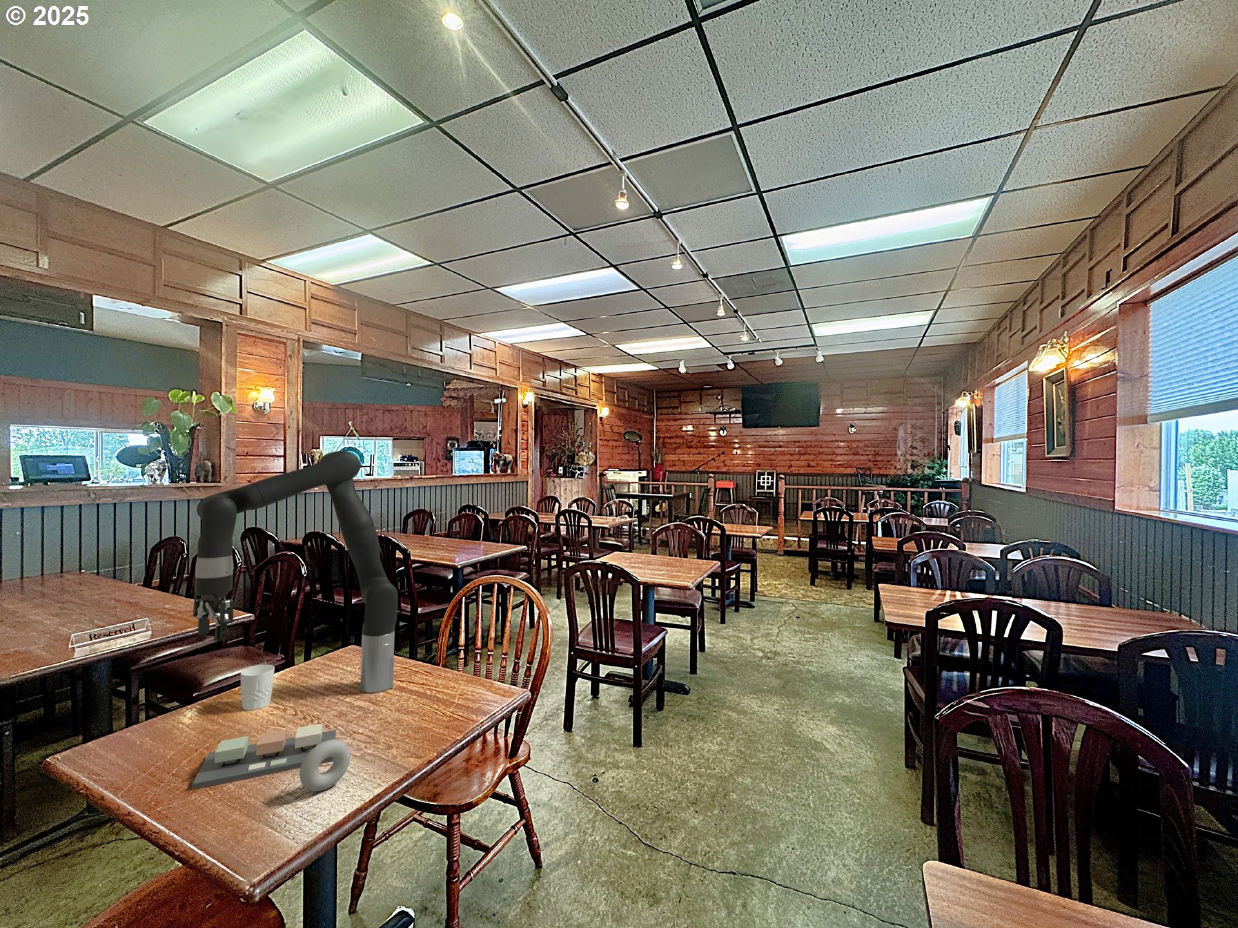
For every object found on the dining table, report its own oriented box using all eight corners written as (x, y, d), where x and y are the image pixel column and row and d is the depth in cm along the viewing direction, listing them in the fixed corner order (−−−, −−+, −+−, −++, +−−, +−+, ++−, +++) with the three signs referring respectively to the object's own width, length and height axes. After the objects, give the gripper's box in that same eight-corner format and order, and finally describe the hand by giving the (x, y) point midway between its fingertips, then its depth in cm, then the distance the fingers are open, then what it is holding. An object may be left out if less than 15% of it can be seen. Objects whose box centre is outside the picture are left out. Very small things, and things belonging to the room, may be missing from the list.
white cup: (260, 712, 140) (261, 676, 141) (232, 710, 141) (233, 674, 141) (279, 699, 148) (280, 665, 148) (253, 698, 148) (254, 664, 149)
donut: (345, 774, 114) (347, 729, 114) (352, 780, 112) (354, 735, 112) (295, 795, 106) (297, 747, 106) (302, 803, 104) (303, 754, 104)
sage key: (248, 752, 119) (248, 735, 119) (243, 763, 114) (244, 747, 114) (220, 757, 116) (221, 740, 116) (214, 769, 112) (215, 752, 112)
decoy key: (286, 745, 122) (286, 729, 122) (282, 756, 117) (283, 740, 118) (260, 749, 120) (260, 733, 120) (255, 761, 115) (256, 744, 115)
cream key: (321, 738, 125) (322, 723, 126) (320, 749, 121) (320, 733, 121) (297, 743, 123) (297, 727, 123) (294, 754, 118) (295, 737, 119)
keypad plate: (335, 734, 130) (336, 728, 130) (333, 760, 119) (333, 754, 119) (209, 757, 119) (209, 750, 119) (192, 789, 107) (192, 782, 107)
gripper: (246, 574, 129) (243, 638, 129) (216, 568, 136) (214, 628, 136) (211, 579, 123) (209, 646, 122) (182, 572, 129) (180, 636, 129)
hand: (212, 637), depth 129 cm, fingers open, 8 cm apart
